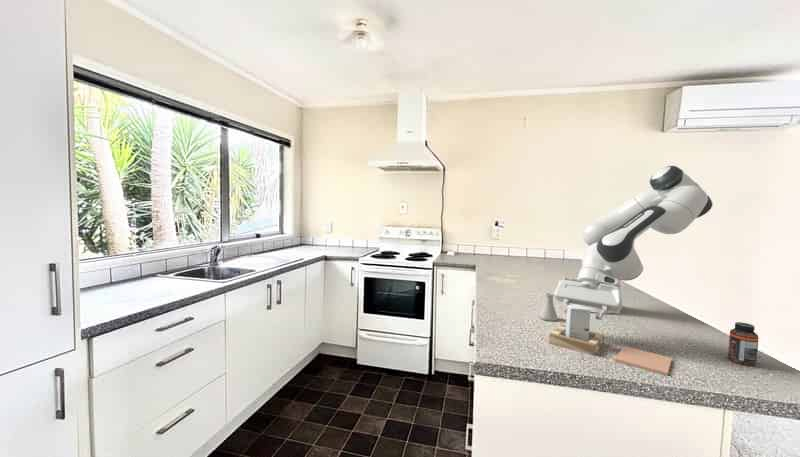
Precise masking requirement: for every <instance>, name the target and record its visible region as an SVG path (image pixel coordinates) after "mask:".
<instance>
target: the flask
mask: <svg viewBox="0 0 800 457" xmlns="http://www.w3.org/2000/svg"><path fill="white" fill-rule="evenodd" d="M544 295H545V300H544V304H543V307H542V309H541V311H540V312H539V316H538V319H541V320H543V321H548V322H555V321H557V322H558V321H559V319H558V315H557V312H556V308H555V305H554V297H555V295H554V293H545V294H544Z"/></svg>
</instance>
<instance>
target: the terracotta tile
mask: <svg viewBox="0 0 800 457" xmlns="http://www.w3.org/2000/svg"><path fill="white" fill-rule="evenodd" d="M614 362H616V363H620V364H623V365H627V366H631V367H634V368H638V369H641V370H645V371H649V372H652V373H656V374H660V375H662V376H667V377H668V375H669V371H670V369H671V365H672V362H673V357H669V356H666V355H662V354H657V353H653V352H650V351H649V352H648V351H645V350H641V349H637V348H633V347H629V346H622V348H621V349H620V351H619V352H618V354H617V355H616V356H615V358H614Z"/></svg>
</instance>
